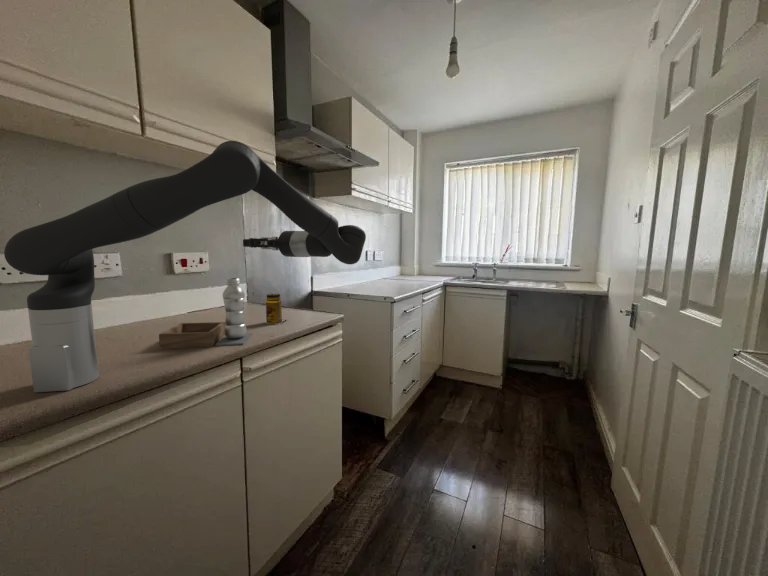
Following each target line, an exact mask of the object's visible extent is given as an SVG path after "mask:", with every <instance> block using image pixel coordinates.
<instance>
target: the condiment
mask: <svg viewBox="0 0 768 576" xmlns="http://www.w3.org/2000/svg"><path fill="white" fill-rule="evenodd" d="M282 309H283V308H282V300H281V294H280V293H268V294H266V301H265V315H266V316H265V318H266V322H267V324H266V325H278V324H277V323H281V322H282V320H283V313H282V312H283V311H282ZM287 320H288V319H286V321H287Z"/></svg>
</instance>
